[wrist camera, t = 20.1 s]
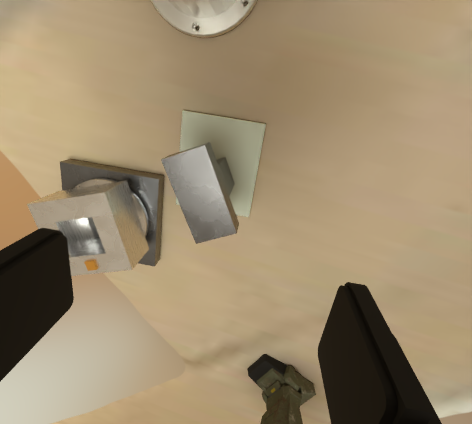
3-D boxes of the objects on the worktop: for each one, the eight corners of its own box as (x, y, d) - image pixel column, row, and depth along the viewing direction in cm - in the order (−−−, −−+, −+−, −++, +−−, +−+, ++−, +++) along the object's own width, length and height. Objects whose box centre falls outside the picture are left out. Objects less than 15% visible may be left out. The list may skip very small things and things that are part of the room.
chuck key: (188, 145, 34) (161, 159, 26) (221, 134, 33) (204, 145, 25) (212, 210, 37) (196, 243, 28) (244, 202, 36) (236, 233, 28)
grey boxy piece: (57, 184, 36) (16, 200, 31) (134, 171, 35) (106, 186, 29) (87, 257, 40) (56, 283, 34) (158, 249, 38) (138, 275, 32)
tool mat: (183, 110, 33) (182, 110, 33) (265, 123, 33) (265, 124, 32) (177, 202, 38) (175, 204, 37) (249, 215, 38) (248, 217, 37)
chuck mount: (70, 158, 37) (59, 161, 35) (164, 175, 37) (158, 179, 35) (76, 243, 42) (68, 249, 40) (159, 259, 42) (154, 266, 40)
